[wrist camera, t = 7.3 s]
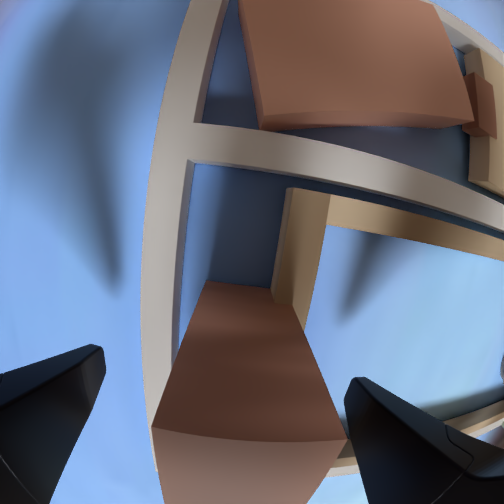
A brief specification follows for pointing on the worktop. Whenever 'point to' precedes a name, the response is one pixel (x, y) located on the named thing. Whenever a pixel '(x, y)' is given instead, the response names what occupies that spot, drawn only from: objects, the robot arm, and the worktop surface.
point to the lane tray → (259, 159)
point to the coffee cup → (502, 370)
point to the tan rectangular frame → (275, 368)
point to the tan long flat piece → (485, 120)
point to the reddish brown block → (351, 64)
